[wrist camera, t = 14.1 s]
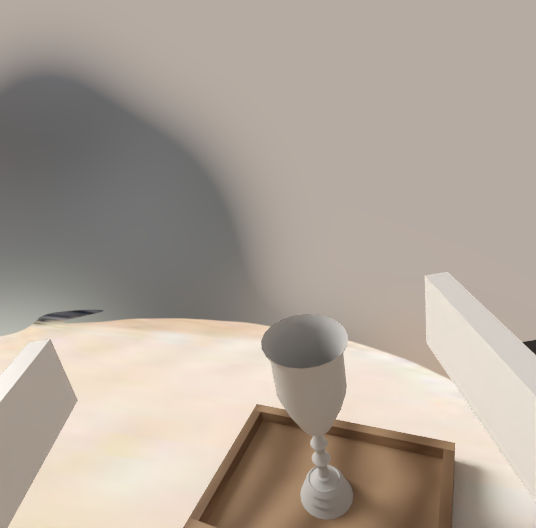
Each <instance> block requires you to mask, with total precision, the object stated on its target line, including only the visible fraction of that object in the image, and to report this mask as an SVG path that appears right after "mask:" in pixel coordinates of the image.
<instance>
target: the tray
mask: <svg viewBox="0 0 536 528" xmlns="http://www.w3.org/2000/svg"><path fill="white" fill-rule="evenodd" d="M323 436H324V437H325V438H326V439H327V441H328V445H327V447H326V448H325V451H327V452H328V453H329V454H330V456H331V461H330V462H329V464H328V465H331V466H333V467H336V468H337V469H338V470H339V471H340V472H341V473H342V475H344V477H345V479H346V480H347V481H348V482H349V484H350V485H351V487H352V491H353V501H352V504H351V506H350V508H349V510H348V511H346V512H345V513H344V514H343V515H342V516H340V517H338V518H335V519H329V520H325V519H319V518H317V517H315V516H313V515H311V514H310V513H309V512H308V511H307V510H306V509H305V508H304V506H303V504H302V502H301V495H300V493H301V488H302V486H303V484H304V481H305V479H306V476H307V474H308V472H309V471H310V470H311V469H312V468H314V467H316V466H317V465H315V464H314V463H313V461H312V455H313V453H314V452H315V449H313V448H312V447H311V445H310V442H311V439H312V438H313V435H309V434H307V433H306V432H304V431H303V430H302V429H301V428H300V427H299V425H298V424H297V423H296V422H295V421H294V420H293V419H292V418H291V417H290V416H289V414H288V413H287V411H286V410H284V409H279V408H274V407H268V406H263V405H258V404H257V405H256V407H255V408H254V410H253V412H252V413H251V415H250V417H249V418H248V420H247V422H246V423H245V425H244V427H243V428H242V430H241V432H240V433H239V435H238V437H237V438H236V440H235V442H234V443H233V445H232V447H231V449H230V450H229V452H228V454H227V455H226V457H225V459H224V460H223V462H222V464H221V465H220V467H219V469H218V470H217V472H216V474H215V475H214V477H213V479H212V480H211V482H210V484H209V485H208V487H207V489H206V490H205V492H204V494H203V496H202V497H201V499H200V501H199V502H198V504H197V506H196V507H195V509H194V511H193V512H192V514H191V516H190V517H189V519H188V521H187V522H186V524H185V526H184V527H183V528H452V506H453V482H454V457H455V443H452V442H447V441H442V440H437V439H432V438H427V437H422V436H417V435H411V434H406V433H401V432H396V431H391V430H386V429H381V428H376V427H371V426H365V425H360V424H355V423H350V422H345V421H340V420H335V421H334V423H333V424H332V426H331V428H330V430H329V431H328V432H327V433H325V434H323Z"/></svg>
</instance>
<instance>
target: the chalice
mask: <svg viewBox="0 0 536 528" xmlns="http://www.w3.org/2000/svg"><path fill="white" fill-rule="evenodd" d="M347 341H348V335H347V333H346V330H345V328H344V327H343V326H342V325H341V324H339V322H337V321H335V320H333V319H331V318H329V317H325V316H320V315H310V314H303V315H296V316H291V317H289V318H286V319H283V320H280V321H279V322H277V323H275V324H274V325H272V326H271V327H270V328H269V329H268V330H267V331H266V332H265V334H264V336H263V338H262V341H261V342H262V350H263V352H264V353H265V355H266V357H267V358H268V359H269V360H270V361H271V366H272V371H273V376H274V382H275V387H276V392H277V396H278V398H279V400H280V402H281V403H282V405H283V406H284V408H285V410H286V411H287V413H288V414H289V416H290V417H291V418H292V419H293V420H294V421H295V422H296V423H297V424H298V425H299V427H300V428H301V429H302V430H303V431H304V432H306V433H307V434H309V435H313V438H312V439H311V442H310V445H311V447H312V448H313V449H315V452H314V453H313V455H312V461H313V463H314V464H315V465H317V466H316V467H314V468H312V469H311V470H310V471H309V472H308V474H307V476H306V479H305V481H304V484H303V486H302V488H301V493H300V495H301V502H302V504H303V506H304V508H305V509H306V510H307V511H308V512H309V513H310V514H311V515H313V516H315V517H317V518H319V519H325V520H329V519H335V518H338V517H340V516H342V515H343V514H344V513H345V512H346V511H348V510H349V508H350V506H351V504H352V501H353V491H352V487H351V485H350V484H349V482H348V481H347V480H346V479H345V477H344V475H342V473H341V472H340V471H339V470H338V469H337V468H336V467H333V466H331V465H328V464H329V462H330V461H331V456H330V454H329V453H328V452H327V451H325V448H326V447H327V445H328V441H327V439H326V438H325V437H324V436H323V434H325V433H327V432H328V431H329V430H330V428H331V426H332V424H333V423H334V421H335V419H336V417H337V415H338V413H339V412H340V410H341V407H342V404H343V400H344V397H345V394H346V376H345V367H344V357H343V352H344V350H345V348H346V346H347Z"/></svg>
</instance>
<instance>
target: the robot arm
mask: <svg viewBox="0 0 536 528" xmlns="http://www.w3.org/2000/svg"><path fill="white" fill-rule="evenodd" d="M425 299H426V300H425V302H426V342H427V344H428V346H429V347H430V349H431V350H432V352H433V353H434V355H435V356H436V358H437V359H438V361H439V362H440V364H441V365H442V366H443V368H444V369H445V371H446V372H447V373H448V375H449V377H450V378H451V380H452V381H453V383H454V384H455V385H456V387H457V388H458V390H459V391H460V393H461V394H462V396H463V397H464V399H465V400H466V402H467V403H468V404H469V406H470V407H471V409H472V410H473V412H474V413H475V415H476V416H477V418H478V419H479V421H480V422H481V423H482V425H483V426H484V428H485V429H486V431H487V432H488V434H489V435H490V437H491V438H492V440H493V441H494V442H495V444H496V445H497V447H498V448H499V450H500V451H501V453H502V454H503V456H504V457H505V459H506V460H507V461H508V463H509V464H510V466H511V467H512V469H513V470H514V472H515V473H516V475H517V476H518V478H519V479H520V480H521V482H522V483H523V485H524V486H525V488H526V489H527V491H528V492H529V494H530V495H531V497H532V498H533V499H534V501H535V502H536V340H533V341H527V342H521V341H520V340H519V339H518V338H517V337H516V336H515V335H514V334H513V333H512V332H511V331H510V330H508V328H506V327H505V326H504V325H503V324H502V323H501V322H500V321H499V320H498V319H497V318H496V317H495V316H494V315H493V314H492V313H491V312H490V311H488V310H487V309H486V308H485V307H484V306H483V305H482V304H481V303H480V302H479V301H478V300H477V299H476V298H475V297H474V296H473V295H471V294H470V293H469V292H468V291H467V290H466V289H465V288H464V287H463V286H462V285H461V284H460V283H459V282H458V281H457V280H456V279H454V278H453V277H452V276H451V275H450V274H449V273H448V272H443V273H437V274H431V275H425ZM76 402H77V398H76V396H75V393H74V391H73V389H72V387H71V384H70V382H69V380H68V378H67V375H66V373H65V371H64V369H63V367H62V364H61V362H60V360H59V358H58V355H57V353H56V351H55V349H54V346H53V344H52V342H51V340H50V339H47V340H41V341H35V342H29V343H28V344H27V345H26V347H25V348H24V349H23V350H22V351H21V352H20V354H19V355H18V356H17V357H16V358H15V359H14V360H13V362H12V363H11V364H10V365H9V366H8V367H7V369H6V370H5V371H4V372H3V373H2V374H1V376H0V528H7V527H8V526H9V524H10V522H11V520H12V518H13V517H14V515H15V513H16V511H17V509H18V507H19V506H20V504H21V502H22V500H23V498H24V497H25V495H26V493H27V491H28V489H29V488H30V486H31V484H32V482H33V480H34V478H35V477H36V475H37V473H38V471H39V469H40V468H41V466H42V464H43V462H44V460H45V458H46V457H47V455H48V453H49V451H50V449H51V448H52V446H53V444H54V442H55V440H56V439H57V437H58V435H59V433H60V431H61V429H62V428H63V426H64V424H65V422H66V420H67V419H68V417H69V415H70V413H71V411H72V410H73V408H74V406H75V404H76Z"/></svg>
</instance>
